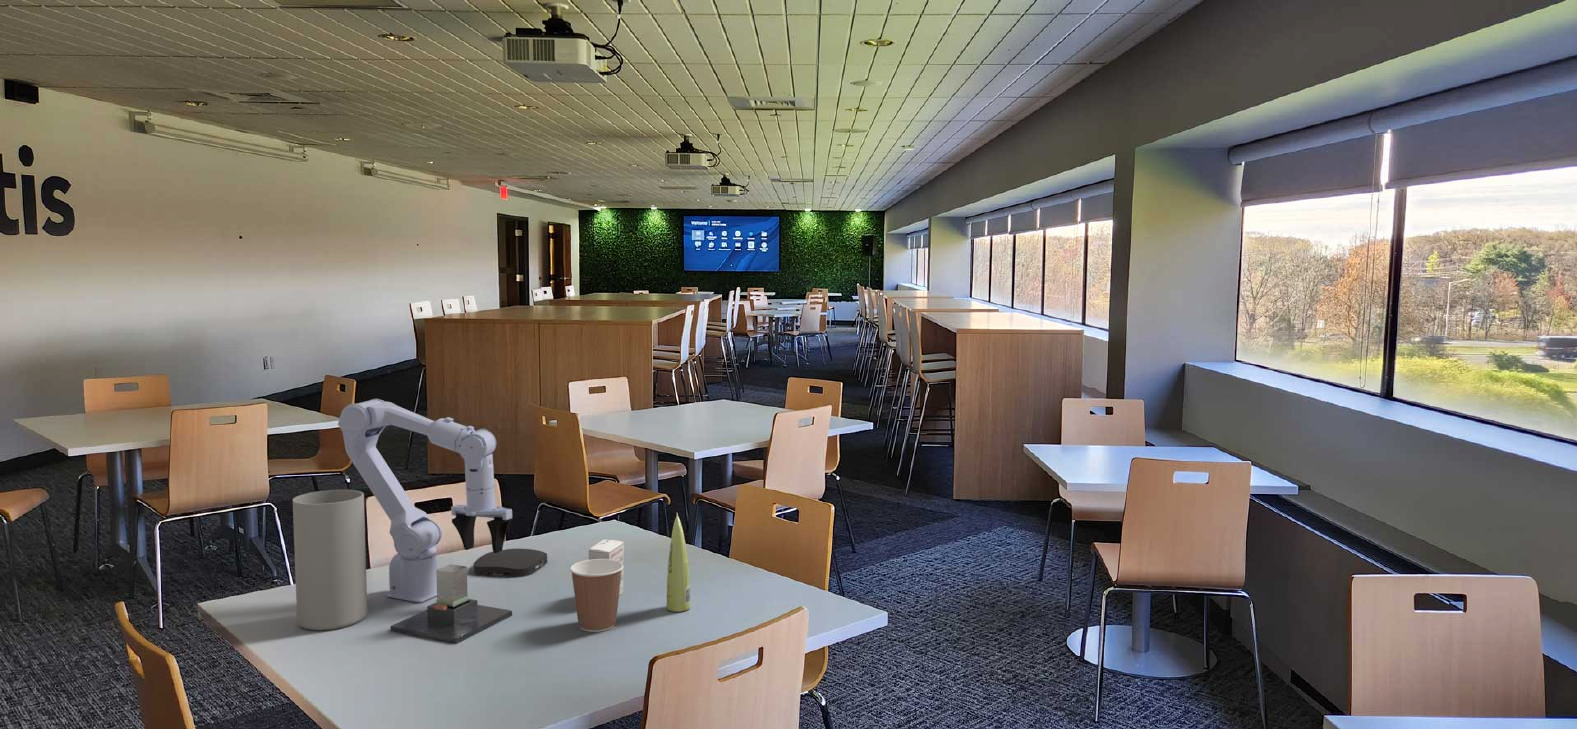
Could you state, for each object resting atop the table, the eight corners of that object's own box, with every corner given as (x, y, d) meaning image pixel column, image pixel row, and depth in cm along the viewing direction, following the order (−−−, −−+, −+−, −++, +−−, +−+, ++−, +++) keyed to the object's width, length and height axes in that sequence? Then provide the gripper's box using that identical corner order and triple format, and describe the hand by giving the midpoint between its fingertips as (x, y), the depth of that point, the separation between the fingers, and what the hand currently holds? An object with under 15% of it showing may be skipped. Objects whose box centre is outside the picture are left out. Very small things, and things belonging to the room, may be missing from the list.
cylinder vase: (282, 626, 176) (277, 500, 174) (334, 605, 188) (330, 487, 186) (331, 635, 172) (326, 506, 170) (381, 613, 184) (378, 493, 181)
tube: (659, 608, 188) (659, 516, 187) (677, 602, 192) (677, 512, 191) (677, 614, 185) (677, 521, 183) (695, 608, 189) (696, 516, 187)
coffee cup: (633, 620, 181) (632, 562, 180) (606, 638, 172) (606, 577, 171) (588, 613, 185) (588, 556, 184) (560, 631, 175) (559, 571, 174)
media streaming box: (496, 557, 223) (496, 546, 223) (552, 561, 221) (552, 549, 221) (467, 576, 209) (467, 563, 209) (527, 579, 207) (527, 567, 207)
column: (436, 604, 177) (435, 570, 177) (451, 598, 181) (450, 564, 181) (453, 607, 176) (452, 572, 175) (468, 600, 180) (467, 566, 179)
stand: (390, 631, 174) (390, 608, 174) (449, 604, 189) (449, 583, 189) (456, 643, 169) (455, 619, 168) (512, 615, 183) (511, 593, 183)
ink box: (609, 606, 189) (608, 551, 188) (586, 604, 190) (586, 549, 189) (624, 593, 198) (624, 539, 197) (603, 591, 199) (602, 538, 198)
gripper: (439, 489, 191) (443, 552, 192) (495, 493, 185) (498, 558, 186) (463, 482, 197) (466, 543, 198) (517, 486, 192) (520, 549, 193)
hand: (483, 550), depth 193 cm, fingers open, 7 cm apart
